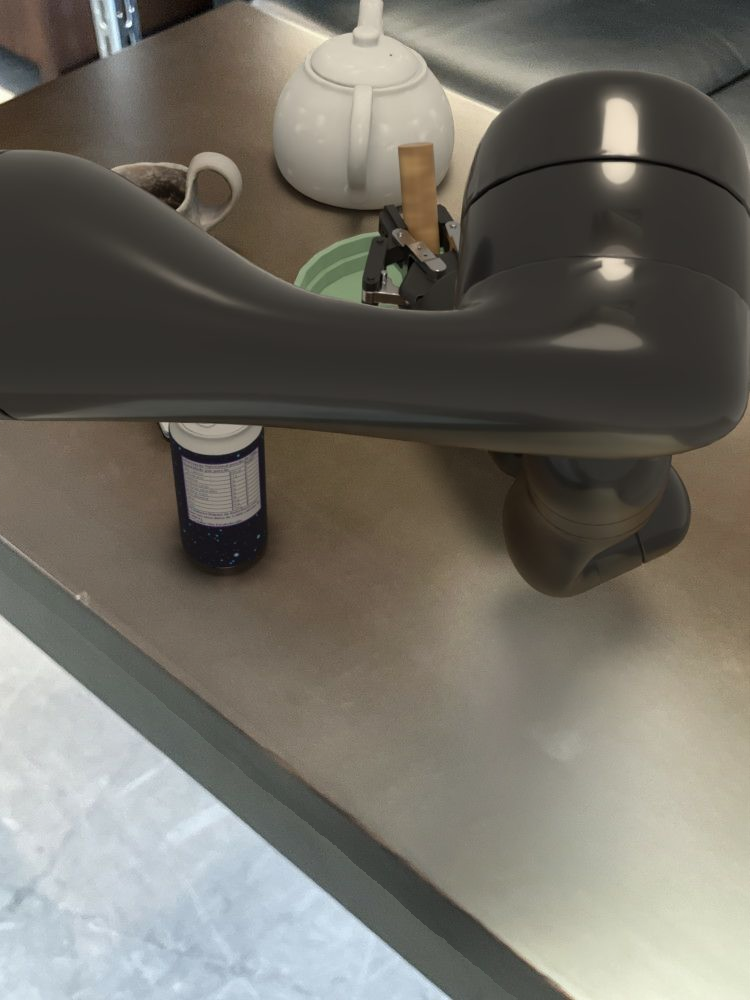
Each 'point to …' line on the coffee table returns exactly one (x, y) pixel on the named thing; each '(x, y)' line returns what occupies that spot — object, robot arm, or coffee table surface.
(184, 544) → the beverage can
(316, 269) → the pan
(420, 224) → the brush
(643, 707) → the coffee table surface
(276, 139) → the teapot
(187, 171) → the mug
